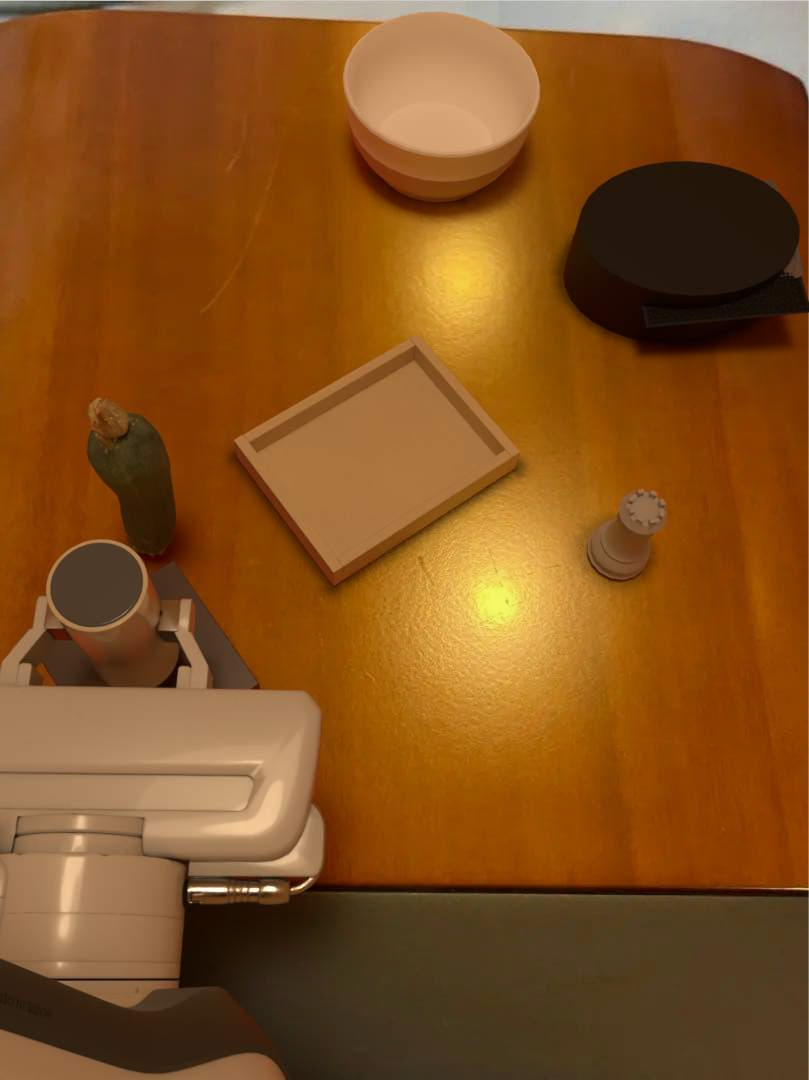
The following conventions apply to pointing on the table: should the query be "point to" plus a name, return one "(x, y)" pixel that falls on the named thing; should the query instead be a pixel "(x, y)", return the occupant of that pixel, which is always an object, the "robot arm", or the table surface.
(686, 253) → the black flat-topped cap
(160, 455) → the vegetable
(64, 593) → the cylinder
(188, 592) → the pedestal
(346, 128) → the table surface
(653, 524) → the rook chess piece
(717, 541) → the table surface
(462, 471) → the tray
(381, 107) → the bowl
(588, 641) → the table surface
